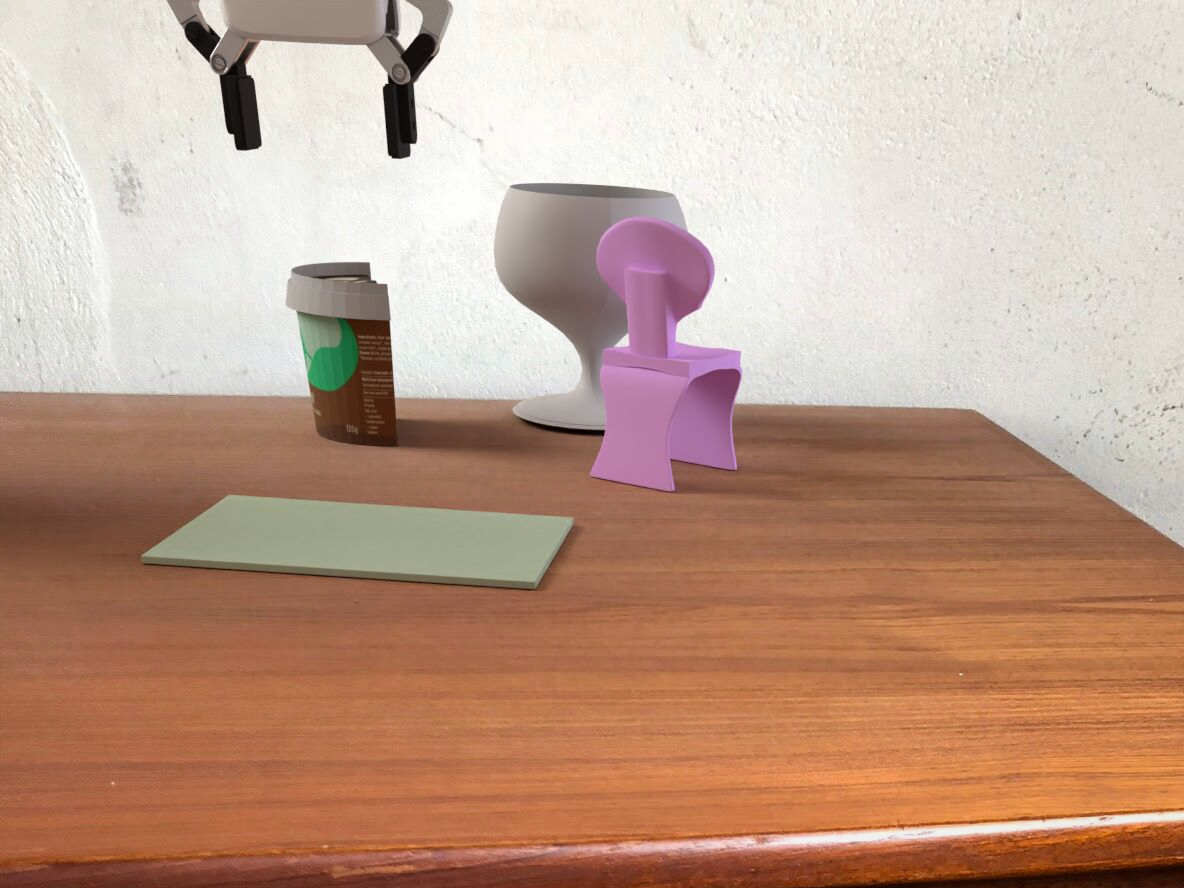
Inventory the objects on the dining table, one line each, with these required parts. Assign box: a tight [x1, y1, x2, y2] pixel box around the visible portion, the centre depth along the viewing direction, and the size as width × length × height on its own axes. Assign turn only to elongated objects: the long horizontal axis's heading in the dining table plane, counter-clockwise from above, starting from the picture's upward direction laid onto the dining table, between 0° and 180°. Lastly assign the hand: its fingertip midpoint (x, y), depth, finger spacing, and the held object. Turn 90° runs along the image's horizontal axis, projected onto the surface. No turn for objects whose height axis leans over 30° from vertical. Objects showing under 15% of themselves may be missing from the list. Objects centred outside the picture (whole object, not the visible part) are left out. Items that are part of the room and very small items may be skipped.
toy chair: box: [589, 217, 743, 492], centre depth 95 cm, size 8×9×15 cm
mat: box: [140, 494, 574, 590], centre depth 81 cm, size 20×13×1 cm, turn 88°
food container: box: [284, 261, 399, 447], centre depth 102 cm, size 12×6×10 cm, turn 18°
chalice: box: [493, 182, 689, 432], centre depth 109 cm, size 14×14×15 cm
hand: (324, 153), depth 96 cm, fingers open, 9 cm apart
